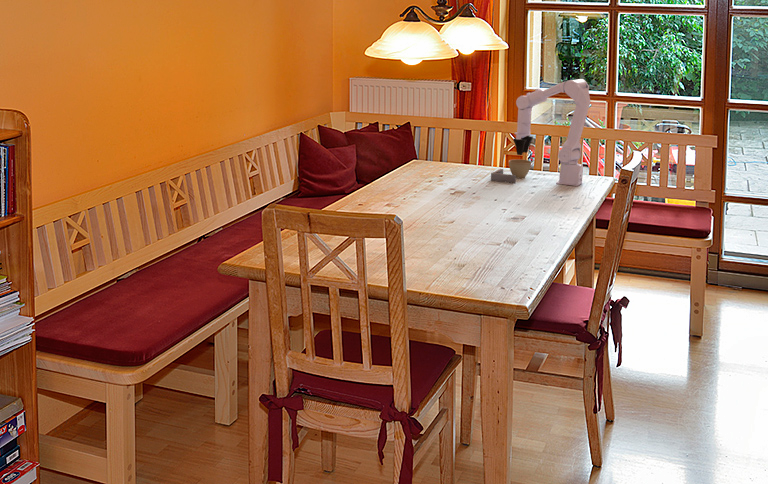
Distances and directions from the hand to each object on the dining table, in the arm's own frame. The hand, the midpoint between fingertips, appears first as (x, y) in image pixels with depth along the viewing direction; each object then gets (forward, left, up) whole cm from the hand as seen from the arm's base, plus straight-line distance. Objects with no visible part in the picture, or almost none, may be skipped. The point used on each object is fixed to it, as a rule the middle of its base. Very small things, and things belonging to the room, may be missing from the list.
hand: (522, 153), depth 369 cm
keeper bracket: (+2, +12, -10) cm, 16 cm away
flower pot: (0, +3, -10) cm, 11 cm away
